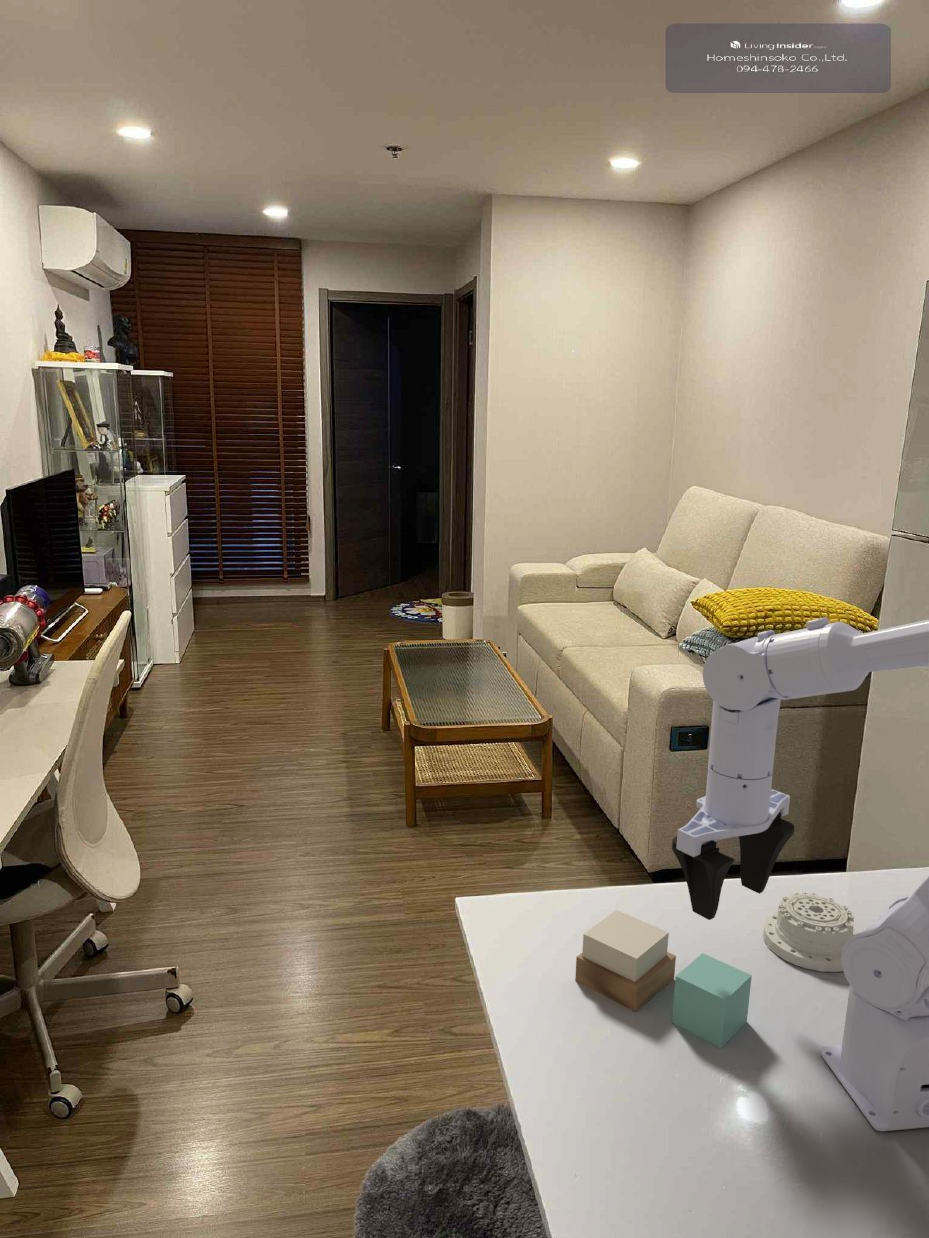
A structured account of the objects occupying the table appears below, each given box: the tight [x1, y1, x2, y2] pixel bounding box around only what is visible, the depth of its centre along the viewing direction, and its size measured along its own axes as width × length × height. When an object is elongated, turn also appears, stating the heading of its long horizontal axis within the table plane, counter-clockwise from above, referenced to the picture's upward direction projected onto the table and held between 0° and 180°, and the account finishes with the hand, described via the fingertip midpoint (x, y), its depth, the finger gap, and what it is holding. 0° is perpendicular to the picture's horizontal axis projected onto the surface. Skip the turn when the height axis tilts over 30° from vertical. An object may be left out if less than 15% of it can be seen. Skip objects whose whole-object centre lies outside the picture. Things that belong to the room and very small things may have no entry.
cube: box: [671, 952, 753, 1049], centre depth 86 cm, size 5×5×5 cm
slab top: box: [581, 909, 670, 982], centre depth 92 cm, size 6×6×2 cm
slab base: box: [574, 951, 677, 1013], centre depth 93 cm, size 7×7×3 cm
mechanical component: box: [762, 891, 858, 973], centre depth 99 cm, size 10×4×10 cm
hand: (728, 901), depth 89 cm, fingers open, 7 cm apart
